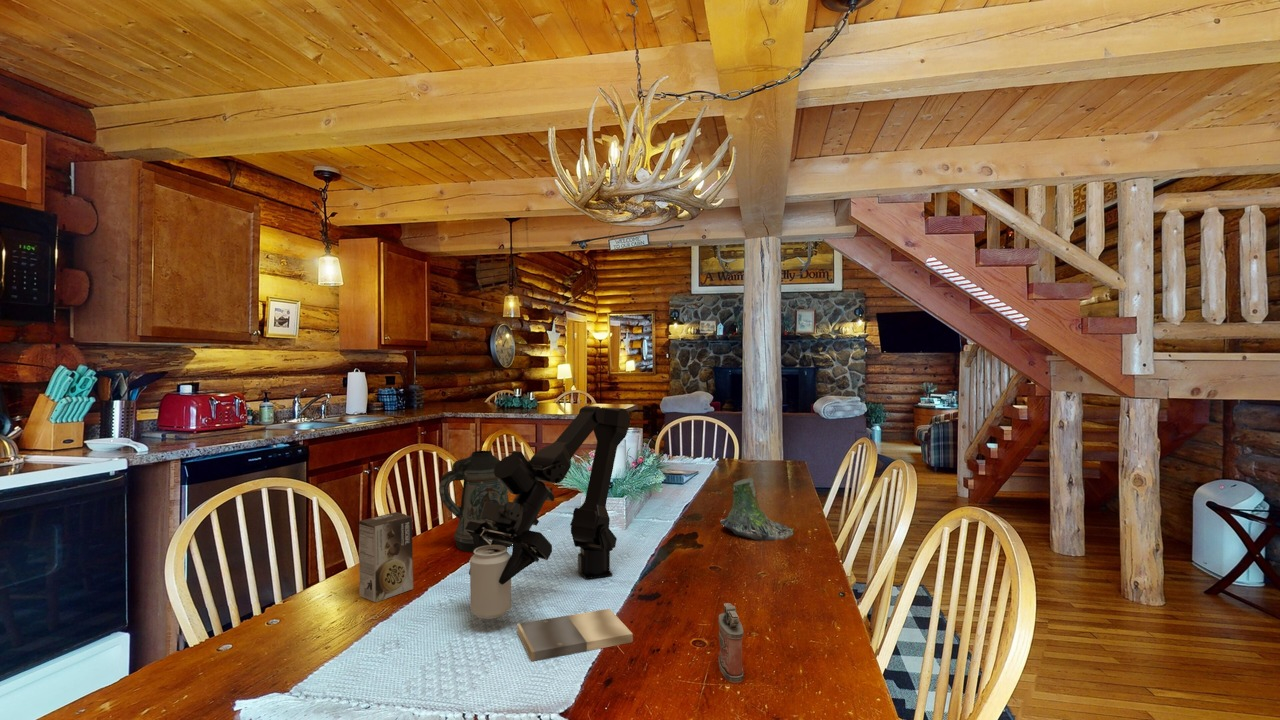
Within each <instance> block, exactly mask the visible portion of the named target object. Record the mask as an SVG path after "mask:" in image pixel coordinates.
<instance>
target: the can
mask: <svg viewBox="0 0 1280 720" xmlns="http://www.w3.org/2000/svg"><path fill="white" fill-rule="evenodd" d="M511 555H512V554H510V553H509V552H508V548H507V547H505V546H502V545H486V546H481V547H478V548H476V549H475V550H474V555H473V554H472V555H471V557H470V559H469V570H470V575H469V581H470V583H469V584H470V585H469V586H470V587H469V588H470V590H469V591H470V592H469V593H470V595H469V596H470V597H469V598H470V600H469V601H470V611H471V613H472V614H473V615H475V617H477V618H480V619H497V618H500V617H503V616H504V615H505V614H507V613H508V611H509V610H510V609H512V578H511V579H510V580H508V581H507V582H506V583H504V584H503V585H502V584H500V583H499V579H500V577H501V574H502V572H503V570H504V568H505V566H506V565H507V563H508V561H509V559H510V557H511Z"/></svg>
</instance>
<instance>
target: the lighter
mask: <svg viewBox="0 0 1280 720" xmlns="http://www.w3.org/2000/svg"><path fill="white" fill-rule="evenodd" d="M723 611H724V612H722V613H720V614H719V615H718V626H719V630H718V641H719V654H718V667H719V670H720V672H721V673H722V675H723V677H724V678H725V679H726V680H727V681H728V682H730V683H741V682H742V681H743V680H744V668H743V637H744V627H743V625H742V622H741V621H740V617H739V615H738V614H737V609H736V606H735V605H732V603H729V602H725V603H723Z"/></svg>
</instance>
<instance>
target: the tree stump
mask: <svg viewBox="0 0 1280 720" xmlns="http://www.w3.org/2000/svg"><path fill="white" fill-rule="evenodd" d="M719 522H720V524H721V525H723V526H724V527H725V528H727V529H728V530H730V531H731V532H732V533H734V534H735V536H738V537H741V538H745V539H748V540H749V539H750V540H755V541H778V540H785V539H789V538H790V537H792V536H793V535H795V533H794V529H795V528H791V527H788V526H787V525H784V524H782V523H781V522H778V521H772V520H771V519H769V518H768V516H767V515H766V513H765V512H764V511H763V509H761V508H760V505H759V501H758V497H757V492H756V489H755V483H754V478H753V477H749V478H748V477H747V478H743V479H740V480H737V481H736V482H734V483H733V485H732V508H731V509H730V512H728V515H727V516H726V517H725V518H723V519H721V520H720V521H719Z"/></svg>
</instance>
